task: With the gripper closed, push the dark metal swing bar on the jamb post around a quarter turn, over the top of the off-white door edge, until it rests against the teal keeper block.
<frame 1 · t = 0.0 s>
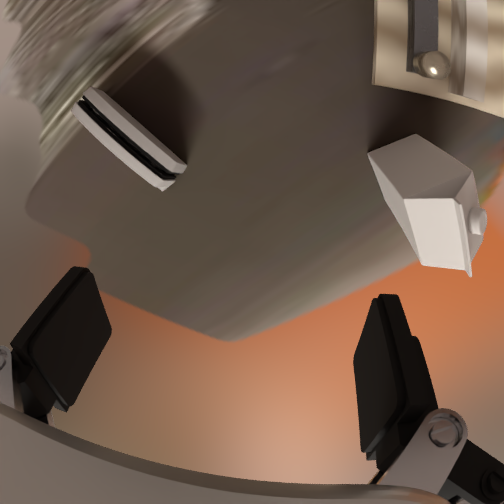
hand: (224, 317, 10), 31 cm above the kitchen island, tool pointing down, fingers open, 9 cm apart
milk carton: (400, 167, 37), on the kitchen island
hinge: (139, 131, 38), on the kitchen island
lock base: (449, 13, 24), on the kitchen island
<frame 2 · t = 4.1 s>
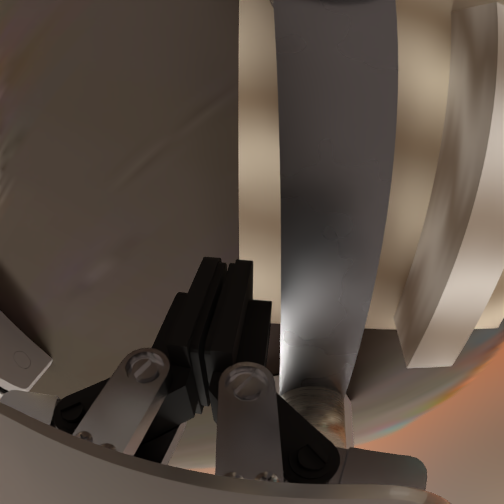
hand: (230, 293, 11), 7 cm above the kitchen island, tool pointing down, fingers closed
swing bar: (336, 220, 7), point 9 cm above the kitchen island, hinge at 3.5°, touching gripper
milk carton: (301, 391, 26), on the kitchen island
hinge: (2, 313, 28), on the kitchen island
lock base: (438, 134, 14), on the kitchen island
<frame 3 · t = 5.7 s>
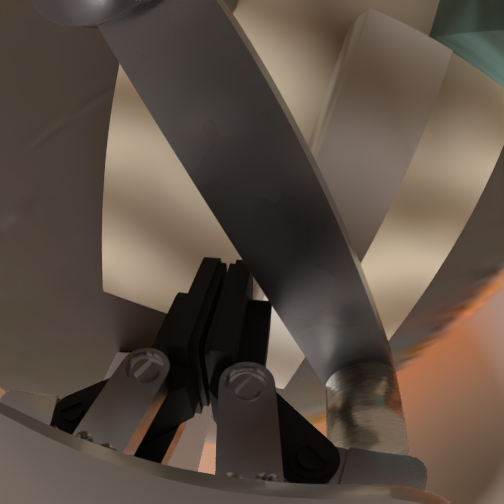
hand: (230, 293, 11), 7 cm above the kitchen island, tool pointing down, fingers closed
swing bar: (255, 189, 7), point 9 cm above the kitchen island, hinge at 44.3°, touching gripper
milk carton: (167, 374, 27), on the kitchen island
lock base: (311, 152, 15), on the kitchen island
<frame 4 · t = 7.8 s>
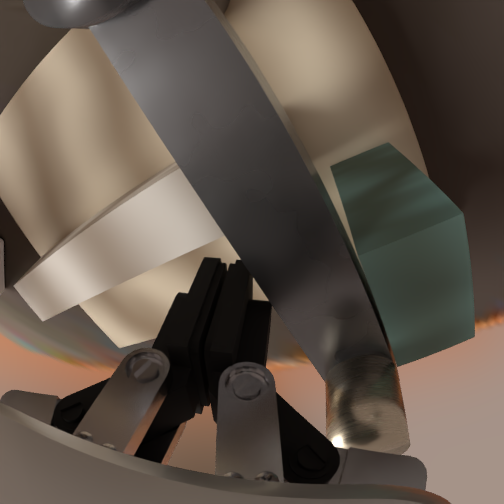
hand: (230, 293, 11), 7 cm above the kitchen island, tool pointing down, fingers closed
swing bar: (245, 180, 7), point 9 cm above the kitchen island, hinge at 91.0°, touching gripper
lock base: (171, 172, 17), on the kitchen island
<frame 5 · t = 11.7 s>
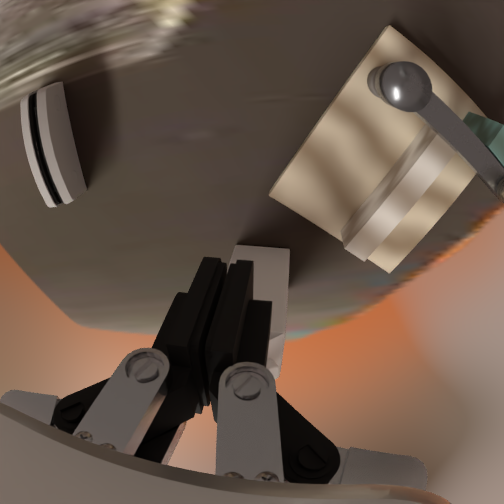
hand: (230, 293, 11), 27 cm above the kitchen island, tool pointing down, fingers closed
swing bar: (463, 138, 22), point 9 cm above the kitchen island, hinge at 90.7°
milk carton: (261, 267, 44), on the kitchen island
hinge: (68, 137, 37), on the kitchen island
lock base: (396, 159, 33), on the kitchen island
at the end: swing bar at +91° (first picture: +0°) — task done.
